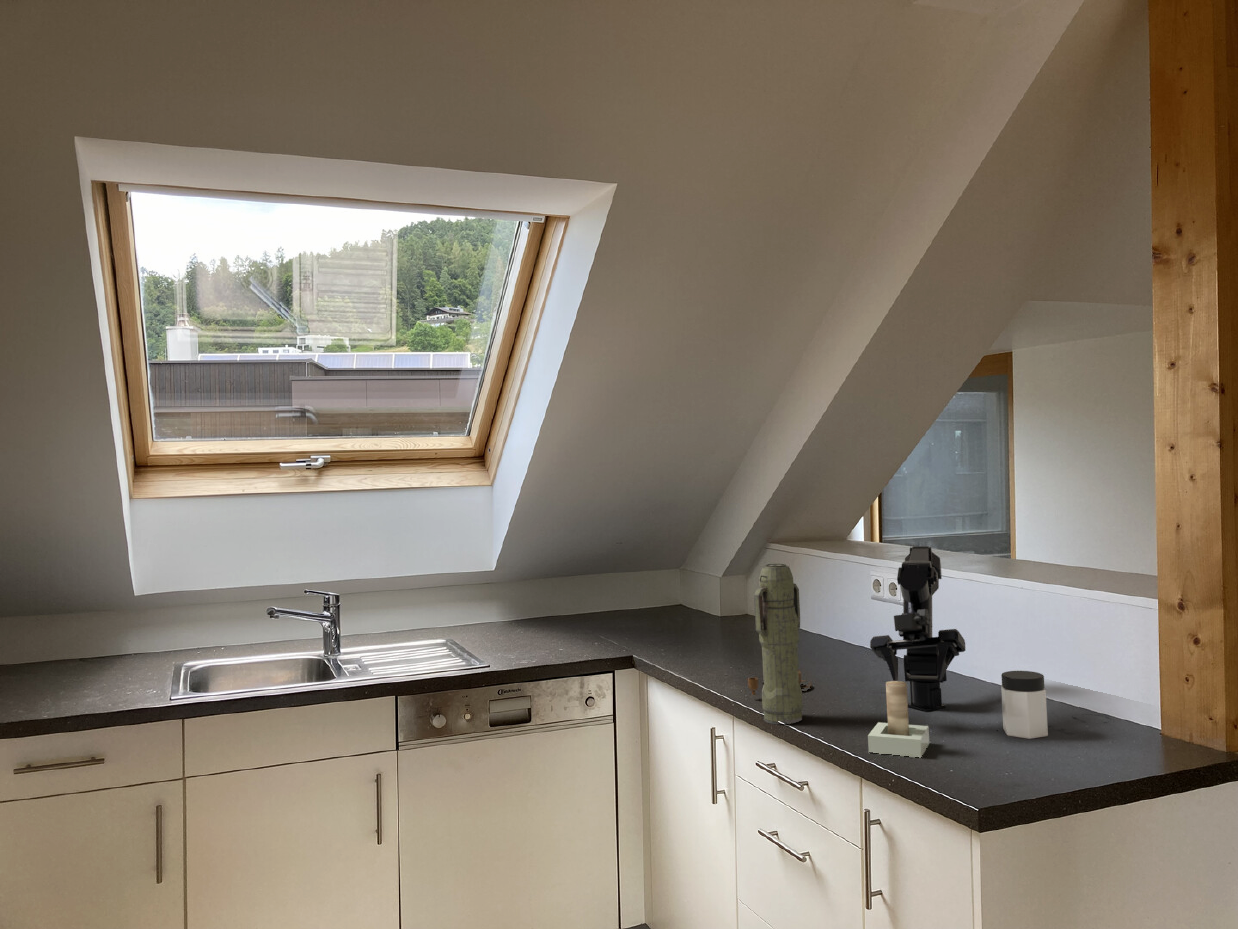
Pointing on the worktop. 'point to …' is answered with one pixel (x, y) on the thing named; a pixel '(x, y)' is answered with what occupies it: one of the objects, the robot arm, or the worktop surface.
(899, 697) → the dowel
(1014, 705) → the jar
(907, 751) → the pale green square holder
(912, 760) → the worktop surface
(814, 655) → the worktop surface
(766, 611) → the thermos
